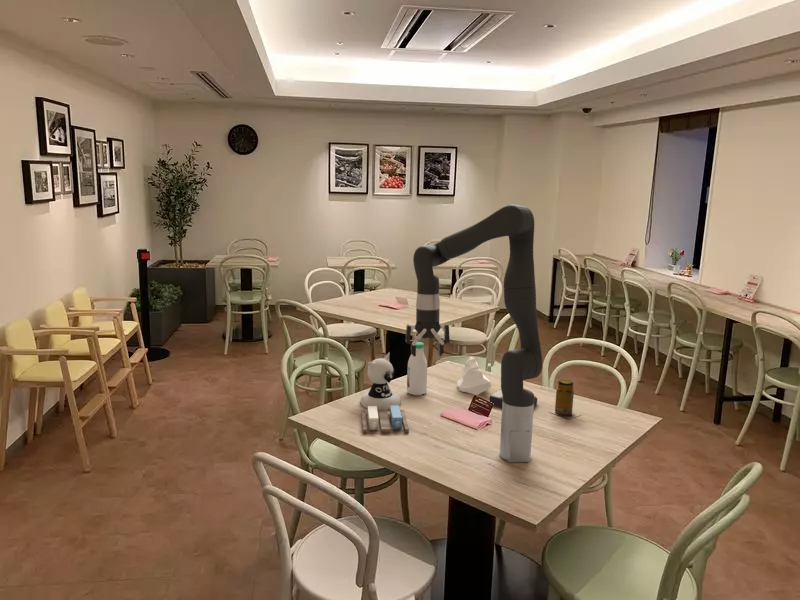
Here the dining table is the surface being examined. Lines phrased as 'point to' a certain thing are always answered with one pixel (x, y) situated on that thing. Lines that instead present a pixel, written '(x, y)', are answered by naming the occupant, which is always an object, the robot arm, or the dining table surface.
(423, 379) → the milk bottle
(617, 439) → the dining table surface
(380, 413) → the cord comb
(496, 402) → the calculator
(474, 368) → the soft serve ice cream
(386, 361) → the decorative figurine
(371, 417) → the white rectangular block
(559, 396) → the condiment
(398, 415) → the light blue bar
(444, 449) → the dining table surface
